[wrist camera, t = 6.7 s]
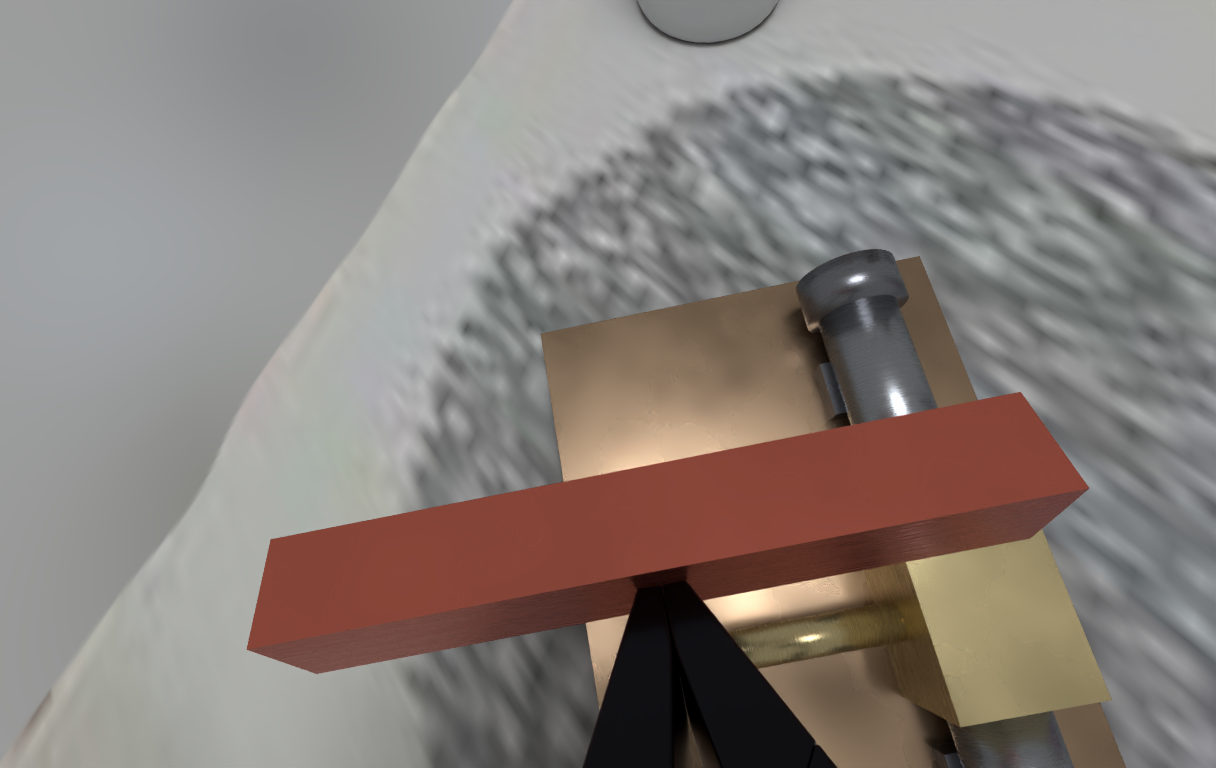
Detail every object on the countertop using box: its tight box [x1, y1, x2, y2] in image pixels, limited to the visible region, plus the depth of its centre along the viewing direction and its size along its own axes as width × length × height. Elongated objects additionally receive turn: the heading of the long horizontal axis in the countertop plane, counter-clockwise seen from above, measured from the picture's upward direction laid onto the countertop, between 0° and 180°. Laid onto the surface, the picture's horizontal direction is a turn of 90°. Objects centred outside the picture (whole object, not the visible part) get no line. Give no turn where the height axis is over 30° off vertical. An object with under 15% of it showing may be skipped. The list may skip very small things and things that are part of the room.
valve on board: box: [541, 249, 1126, 768], centre depth 19 cm, size 22×16×5 cm
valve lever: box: [247, 392, 1089, 700], centre depth 14 cm, size 2×13×13 cm, turn 100°
